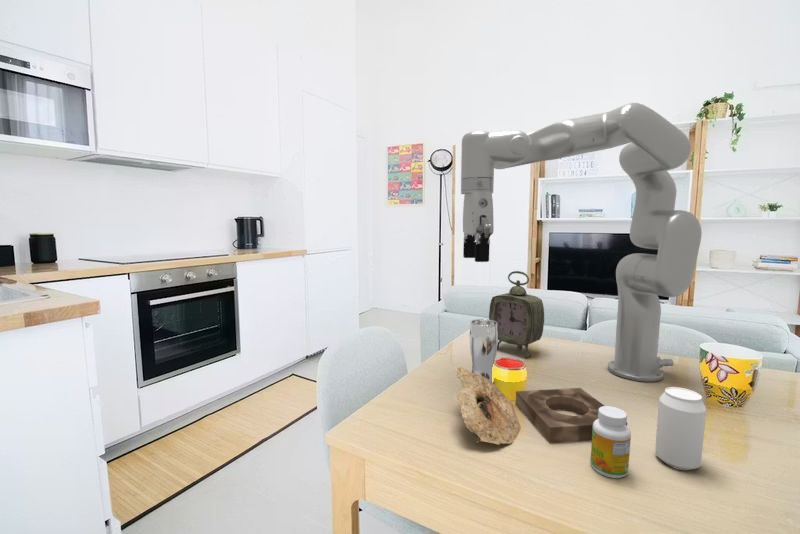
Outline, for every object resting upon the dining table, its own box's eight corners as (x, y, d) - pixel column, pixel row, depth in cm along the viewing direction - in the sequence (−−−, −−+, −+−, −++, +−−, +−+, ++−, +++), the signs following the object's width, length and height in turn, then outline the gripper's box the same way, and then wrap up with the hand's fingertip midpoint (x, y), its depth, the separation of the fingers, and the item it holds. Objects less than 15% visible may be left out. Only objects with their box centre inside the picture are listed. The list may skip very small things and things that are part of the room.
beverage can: (672, 447, 68) (677, 383, 67) (709, 469, 62) (716, 398, 61) (645, 454, 66) (651, 387, 65) (682, 477, 60) (688, 404, 59)
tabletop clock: (488, 348, 121) (490, 270, 118) (503, 342, 127) (506, 267, 124) (530, 360, 111) (534, 274, 108) (545, 353, 117) (549, 272, 114)
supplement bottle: (583, 459, 65) (586, 404, 64) (613, 457, 65) (617, 403, 64) (603, 480, 59) (606, 421, 58) (635, 478, 60) (640, 419, 59)
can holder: (579, 400, 86) (580, 387, 86) (626, 437, 71) (627, 422, 71) (515, 404, 84) (516, 391, 84) (549, 443, 69) (550, 427, 69)
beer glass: (494, 375, 100) (496, 319, 99) (498, 386, 93) (500, 326, 92) (467, 374, 101) (468, 318, 99) (469, 385, 94) (471, 325, 92)
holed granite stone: (522, 472, 71) (541, 446, 68) (450, 462, 69) (465, 433, 65) (496, 398, 87) (510, 373, 84) (436, 387, 85) (448, 361, 81)
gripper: (506, 183, 82) (503, 263, 84) (481, 190, 99) (479, 256, 101) (472, 183, 81) (470, 263, 83) (452, 190, 98) (451, 256, 100)
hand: (475, 259), depth 92 cm, fingers open, 9 cm apart
